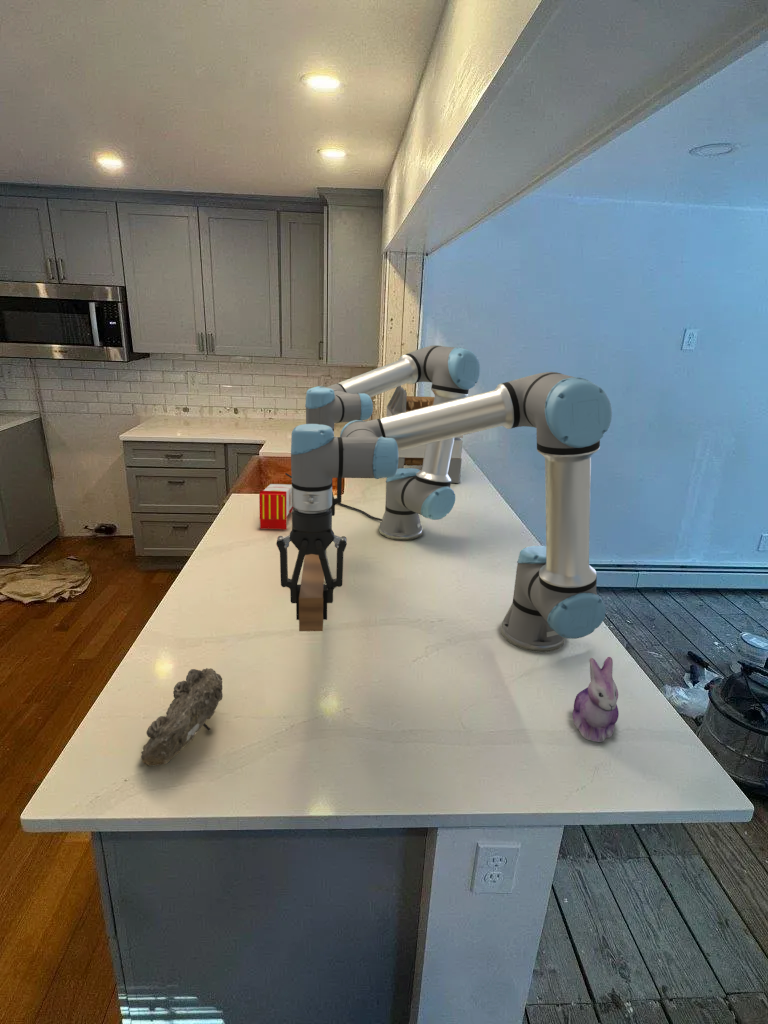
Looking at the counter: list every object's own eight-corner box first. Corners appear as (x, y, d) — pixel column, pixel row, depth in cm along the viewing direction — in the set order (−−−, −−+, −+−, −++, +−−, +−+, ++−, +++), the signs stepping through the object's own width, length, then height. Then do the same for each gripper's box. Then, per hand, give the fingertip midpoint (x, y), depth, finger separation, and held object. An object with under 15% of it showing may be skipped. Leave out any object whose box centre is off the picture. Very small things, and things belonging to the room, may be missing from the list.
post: (312, 521, 167) (312, 498, 164) (328, 521, 167) (328, 498, 165) (299, 631, 110) (298, 598, 107) (322, 631, 110) (322, 598, 108)
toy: (299, 479, 223) (289, 492, 194) (299, 512, 226) (289, 530, 197) (268, 478, 223) (253, 491, 193) (268, 512, 225) (254, 529, 196)
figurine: (597, 751, 104) (612, 683, 98) (557, 717, 112) (569, 652, 107) (633, 736, 108) (649, 669, 103) (592, 704, 116) (605, 641, 111)
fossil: (171, 669, 114) (224, 637, 109) (205, 700, 117) (257, 670, 112) (115, 759, 95) (175, 724, 90) (157, 793, 97) (218, 762, 92)
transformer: (382, 463, 289) (386, 382, 275) (445, 464, 293) (451, 384, 279) (390, 482, 257) (394, 392, 243) (460, 483, 261) (468, 394, 247)
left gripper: (286, 448, 150) (287, 530, 158) (353, 450, 151) (351, 530, 159) (288, 442, 157) (289, 521, 165) (352, 443, 158) (350, 521, 166)
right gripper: (262, 513, 102) (265, 626, 110) (359, 515, 104) (356, 625, 112) (266, 500, 109) (269, 607, 117) (358, 501, 111) (355, 606, 119)
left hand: (319, 525), depth 162 cm, fingers closed on post, 5 cm apart
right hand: (311, 616), depth 114 cm, fingers closed on post, 5 cm apart
